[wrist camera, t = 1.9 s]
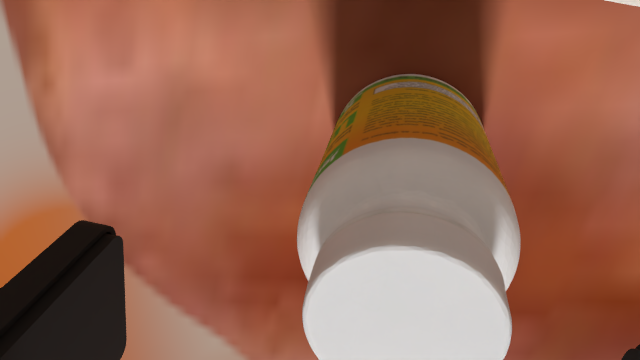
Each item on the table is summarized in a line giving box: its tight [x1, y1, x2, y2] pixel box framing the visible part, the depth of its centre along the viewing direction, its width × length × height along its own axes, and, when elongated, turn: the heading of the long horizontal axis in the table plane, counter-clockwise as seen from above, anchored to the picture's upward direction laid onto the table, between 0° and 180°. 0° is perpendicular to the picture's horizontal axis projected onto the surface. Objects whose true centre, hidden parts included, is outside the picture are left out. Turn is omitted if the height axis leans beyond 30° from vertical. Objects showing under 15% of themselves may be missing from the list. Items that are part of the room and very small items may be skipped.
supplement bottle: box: [297, 74, 520, 360], centre depth 13 cm, size 5×5×10 cm
